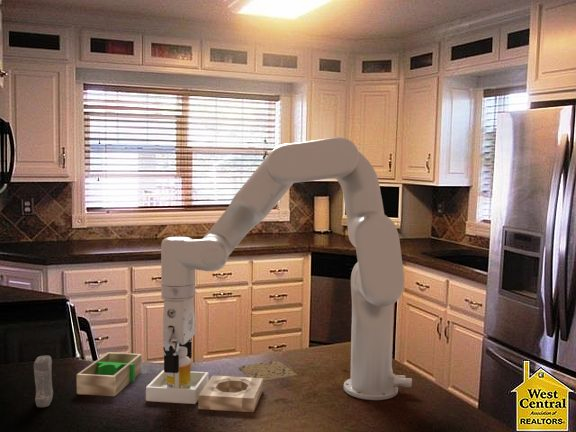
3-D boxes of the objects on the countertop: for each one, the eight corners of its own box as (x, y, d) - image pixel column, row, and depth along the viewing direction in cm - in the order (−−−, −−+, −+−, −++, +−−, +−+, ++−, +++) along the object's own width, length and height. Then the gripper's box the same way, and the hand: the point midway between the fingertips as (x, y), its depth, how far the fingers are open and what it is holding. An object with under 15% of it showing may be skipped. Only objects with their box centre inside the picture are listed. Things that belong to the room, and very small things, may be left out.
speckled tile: (254, 384, 135) (254, 380, 135) (236, 369, 146) (236, 365, 146) (298, 377, 140) (298, 373, 140) (278, 362, 151) (278, 359, 151)
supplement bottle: (192, 385, 131) (192, 345, 130) (188, 394, 125) (188, 352, 125) (169, 385, 131) (168, 345, 130) (164, 394, 125) (164, 352, 124)
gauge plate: (262, 390, 130) (262, 378, 130) (253, 412, 118) (253, 398, 118) (212, 387, 131) (212, 375, 131) (198, 408, 119) (198, 395, 119)
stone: (54, 397, 124) (54, 353, 124) (49, 407, 119) (49, 361, 118) (37, 399, 124) (37, 354, 123) (32, 408, 118) (31, 362, 118)
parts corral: (141, 371, 142) (141, 354, 141) (114, 396, 126) (114, 376, 125) (108, 369, 143) (107, 352, 142) (76, 393, 127) (76, 374, 126)
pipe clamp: (87, 383, 133) (86, 365, 133) (94, 378, 137) (94, 361, 136) (128, 385, 131) (128, 367, 131) (135, 380, 135) (134, 362, 135)
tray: (208, 385, 133) (208, 372, 133) (195, 403, 122) (195, 390, 122) (163, 382, 134) (163, 369, 134) (145, 400, 123) (145, 387, 123)
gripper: (182, 300, 117) (182, 379, 119) (204, 284, 135) (204, 354, 136) (148, 298, 118) (148, 377, 119) (174, 283, 135) (174, 352, 137)
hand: (178, 365), depth 128 cm, fingers open, 9 cm apart
